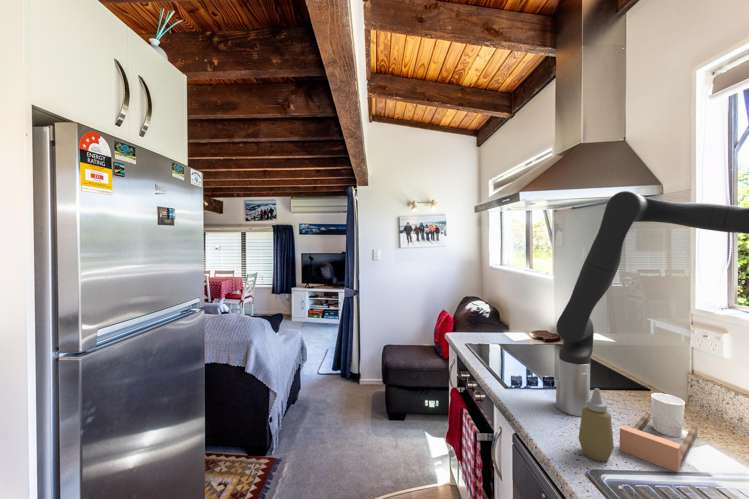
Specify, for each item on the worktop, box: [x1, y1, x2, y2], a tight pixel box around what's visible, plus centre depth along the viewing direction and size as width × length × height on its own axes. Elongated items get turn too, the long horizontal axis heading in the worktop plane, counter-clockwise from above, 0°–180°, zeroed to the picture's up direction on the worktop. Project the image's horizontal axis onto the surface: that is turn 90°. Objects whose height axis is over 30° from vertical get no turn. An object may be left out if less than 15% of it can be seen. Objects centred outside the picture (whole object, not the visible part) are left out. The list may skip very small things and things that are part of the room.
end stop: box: [618, 424, 682, 473], centre depth 93 cm, size 3×12×6 cm, turn 40°
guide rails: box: [632, 412, 698, 469], centre depth 101 cm, size 24×12×2 cm, turn 130°
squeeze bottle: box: [578, 387, 615, 462], centre depth 94 cm, size 8×8×18 cm
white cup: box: [650, 392, 686, 438], centre depth 106 cm, size 8×8×10 cm
